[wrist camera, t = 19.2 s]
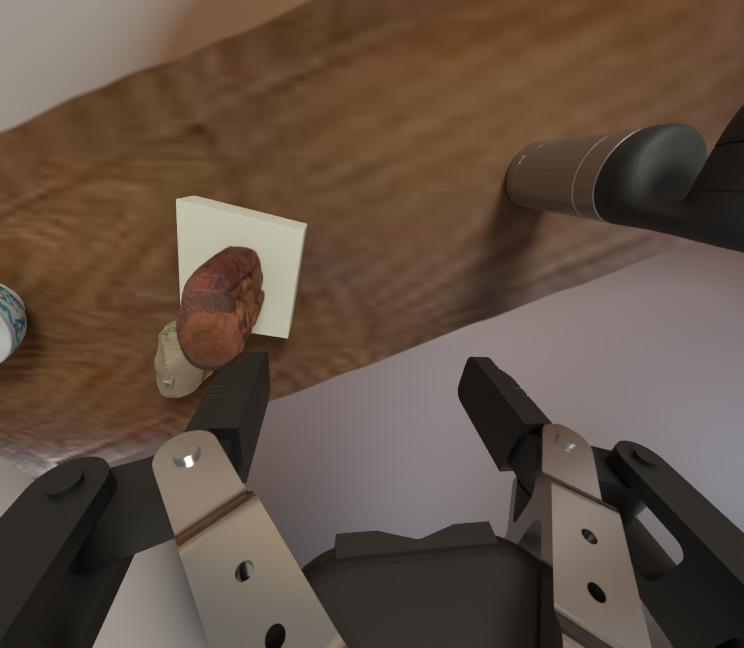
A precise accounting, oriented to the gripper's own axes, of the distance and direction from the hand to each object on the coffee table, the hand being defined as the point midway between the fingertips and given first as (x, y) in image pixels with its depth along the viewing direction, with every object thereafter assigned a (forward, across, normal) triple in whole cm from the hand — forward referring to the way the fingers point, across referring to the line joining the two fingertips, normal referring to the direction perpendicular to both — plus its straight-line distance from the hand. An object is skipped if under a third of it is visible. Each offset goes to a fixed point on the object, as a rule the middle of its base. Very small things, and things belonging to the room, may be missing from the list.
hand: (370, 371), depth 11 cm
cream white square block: (+39, +14, +9) cm, 42 cm away
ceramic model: (+38, +26, +26) cm, 53 cm away
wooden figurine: (+32, +14, +9) cm, 36 cm away
